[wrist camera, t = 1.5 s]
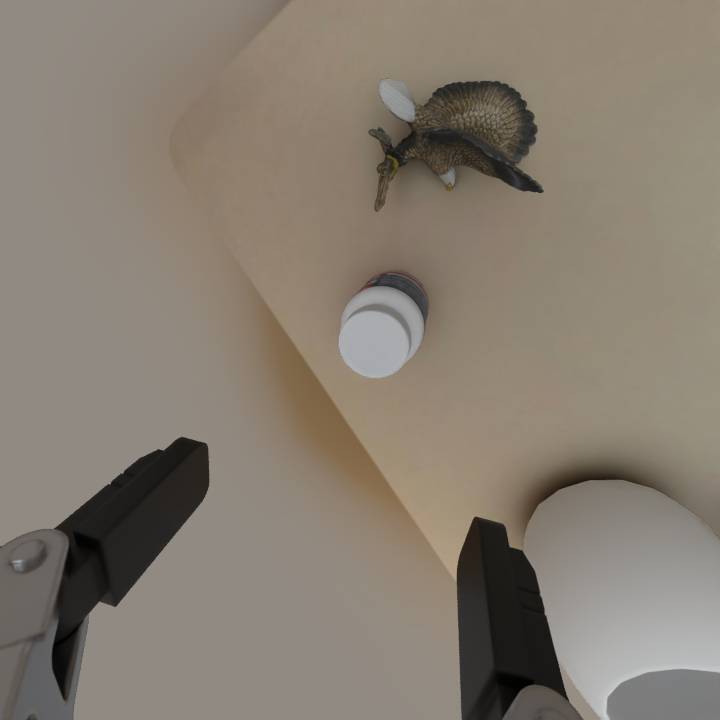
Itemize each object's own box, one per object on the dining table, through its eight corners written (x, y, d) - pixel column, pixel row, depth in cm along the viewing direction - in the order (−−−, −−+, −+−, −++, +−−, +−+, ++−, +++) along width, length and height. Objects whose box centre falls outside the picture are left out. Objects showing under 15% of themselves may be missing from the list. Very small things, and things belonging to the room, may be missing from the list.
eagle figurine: (395, 243, 25) (541, 224, 21) (350, 178, 19) (549, 134, 15) (402, 145, 26) (541, 110, 23) (362, 51, 20) (548, -18, 16)
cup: (573, 430, 29) (668, 594, 17) (729, 504, 28) (943, 727, 16) (485, 533, 34) (507, 711, 22) (613, 596, 34) (708, 811, 22)
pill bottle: (377, 257, 27) (349, 279, 19) (441, 289, 27) (440, 325, 19) (349, 319, 29) (313, 362, 21) (408, 348, 29) (394, 403, 21)
